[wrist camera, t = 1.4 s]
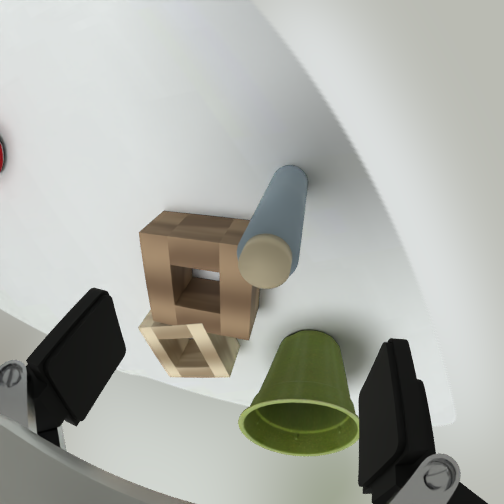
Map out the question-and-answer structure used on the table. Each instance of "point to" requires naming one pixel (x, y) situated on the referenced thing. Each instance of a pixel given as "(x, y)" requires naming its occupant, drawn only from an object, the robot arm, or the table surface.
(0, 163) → the beverage can
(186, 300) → the wooden square frame
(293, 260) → the blue capped cylinder
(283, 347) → the plant pot
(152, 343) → the pale wooden square holder
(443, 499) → the robot arm
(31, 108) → the table surface
